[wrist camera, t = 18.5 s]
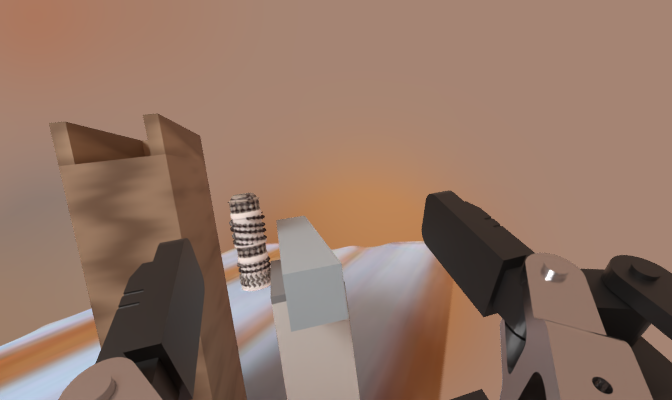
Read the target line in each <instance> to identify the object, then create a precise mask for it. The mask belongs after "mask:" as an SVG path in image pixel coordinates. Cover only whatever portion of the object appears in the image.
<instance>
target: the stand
mask: <svg viewBox="0 0 672 400" xmlns="http://www.w3.org/2000/svg"><path fill="white" fill-rule="evenodd" d="M143 118H144V123H145V128H146V133H147V137H148V140H146V141H140V140H137V139H133V138H129V137H124V136H120V135H116V134H112V133H108V132H104V131H100V130H96V129H92V128H88V127H84V126H80V125H76V124H72V123H68V122H58V123H49V126H50V130H51V134H52V138H53V143H54V147H55V152H56V156H57V160H58V165H59V169H60V173H61V178H62V182H63V186H64V190H65V195H66V199H67V203H68V208H69V212H70V216H71V220H72V225H73V229H74V234H75V238H76V242H77V246H78V250H79V255H80V259H81V264H82V268H83V272H84V277H85V281H86V285H87V290H88V294H89V298H90V302H91V307H92V311H93V316H94V320H95V324H96V329H97V333H98V337H99V341H100V346H101V349H102V346H103V343H104V341H105V338H106V336H107V333H108V331H109V328H110V326H111V323H112V321H113V318H114V316H115V313H116V311H117V310H118V309H119V307H118V305H119V303H120V300H121V298H122V296H124V294H123V293H124V290H125V288H126V285H127V283H128V280H129V278H130V277H131V276H132V274H133V273H134V272H135V271H136V270H137V269H138V268H139V267H140V266H141V264H142V263H147V262H152V261H153V259H154V256H155V253H156V250H157V247H158V245H159V243H161V242H167V241H172V240H178V239H183V238H188V239H189V241H190V242H191V245H192V248H193V250H194V253H195V256H196V258H197V261H198V264H199V266H200V269H201V272H202V275H203V279H204V286H205V295H204V304H203V313H202V322H201V331H200V340H199V349H198V358H197V367H196V376H195V385H194V394H193V399H191V400H247V398H246V392H245V387H244V381H243V375H242V370H241V364H240V358H239V353H238V347H237V341H236V336H235V330H234V325H233V319H232V313H231V308H230V302H229V296H228V291H227V285H226V279H225V274H224V268H223V263H222V257H221V251H220V246H219V240H218V234H217V230H216V223H215V218H214V212H213V206H212V201H211V195H210V190H209V184H208V179H207V173H206V167H205V161H204V156H203V150H202V144H201V139H200V136H199V135H197V134H196V133H193V132H191V131H190V130H188V129H186V128H184V127H182V126H180V125H178V124H176V123H175V122H172V121H171V120H169V119H167V118H165V117H163V116H161V115H159V114H148V115H143Z"/></svg>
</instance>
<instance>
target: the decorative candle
mask: <svg viewBox="0 0 672 400" xmlns="http://www.w3.org/2000/svg"><path fill="white" fill-rule="evenodd" d="M228 203H229V204H230V210H231V213H230V215H231V219H232V220H231V221H230V222H229V224H230V225H231V226H232V227H231V231H232V232H234V234H233V235H232V237H233V239H235V240H234V241H233V242H234V244H235V247H237V252H238V262H239V263H238V267H240V268H239V272H241V274H240V279H241V285H242V290H244V291H256V290H261V289H264V288H266V287H268V286H270V285H271V268H270V265H271V264H270V262H268V261H269V260H270V258H269V256H268V252H267V250H266V245H265V242H266V241H267V240H266V238H267V237H266V236H265V235H263V232H265V231H266V229H265V228H262V227H263V226H264V225H265V223H262V222H261V219H263V218H264V217H265V216H264V215H261V213H262V212H261V209H260V207H259V201H258V197H256V195H255V194H253V193H246V194H239V195H234V196H232V198H231V200H230V202H228ZM260 215H261V216H260Z"/></svg>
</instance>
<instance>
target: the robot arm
mask: <svg viewBox="0 0 672 400" xmlns="http://www.w3.org/2000/svg"><path fill="white" fill-rule="evenodd" d="M422 236H423V239H424V242H425V244H426V245H427V247H428V248H429V249H430V251H431V252H432V253H433V254H434V256H435V257H436V258H437V259H438V261H439V262H440V263H441V264H442V266H443V267H444V268H445V269H446V271H447V272H448V273H449V274H450V276H451V277H452V278H453V279H454V281H455V282H456V283H457V284H458V286H459V287H460V288H461V289H462V290H463V292H464V293H465V294H466V296H467V297H468V298H469V299H470V301H471V302H472V303H473V304H474V306H475V307H476V308H477V309H478V311H479V312H480V313H481V314H482V316H483V317H486V316H489V315H493V314H496V313H498V314H499V315H500V316H501V317H502V320H501V323H500V335H501V357H502V378H503V380H502V391H501V395H500V400H672V363H671V362H670V361H669V360H668V359H667V358H666V357H665V356H663V355H662V354H661V353H660V352H659V351H658V350H656V349H655V348H654V347H653V346H652V345H651V344H649V343H648V342H647V341H646V340H645V339H644V338H643V337H641V335H642V334H643V333H644V332H645V331H646V329H647V328H648V327H649V326H650V325H651V324H653V325H654V326H655V327H656V328H658V329H659V330H660V331H661V332H662V333H664V334H665V335H666V336H667V337H669V338H670V339H671V340H672V273H670V272H669V271H667V270H666V269H664V268H662V267H661V266H659V265H657V264H655V263H652V262H650V261H648V260H645V259H642V258H639V257H634V256H628V255H620V256H615V257H614V258H612V259H611V260H610V262H609V264H608V265H607V267H606V269H605V270H598V269H579V268H578V267H577V266H576V265H575V264H573V263H571V262H570V261H568V260H566V259H564V258H562V257H560V256H557V255H553V254H548V253H534V252H533V251H532V250H531V249H529V248H528V247H527V246H526V245H525V244H523V243H522V242H521V241H520V240H519V239H517V238H516V237H515V236H514V235H512V234H511V233H510V232H509V231H508V230H506V229H505V228H504V227H503V226H500V224H499V223H498V222H497V221H495V220H494V219H491V216H489V215H488V214H487V213H486V212H484V211H483V210H482V209H481V208H479V207H477V206H475V205H473V204H470V203H468V202H466V201H465V202H464V201H463V200H462V199H461V198H459V197H458V196H457V195H456V194H455V193H453V192H452V191H443V192H438V193H433V194H429V195H428V196H427V198H426V203H425V210H424V218H423V224H422ZM123 294H124V296H122V298H121V300H120V303H119V305H118V307H119V309H118V310H117V311H116V313H115V316H114V318H113V321H112V323H111V326H110V328H109V331H108V333H107V336H106V338H105V341H104V343H103V346H102V349H101V351H100V354H99V356H98V359H97V361H96V363H95V364H94V365H93V366H91V367H89V368H88V369H86V370H85V371H83V372H82V373H81V374H79V375H78V376H77V377H76V378H75V379H74V380H73V381H72V382H71V383H70V384H69V385H68V386H67V387H66V389H65V390H64V391H63V393H62V394H61V396H60V398H59V399H58V400H191V399H193V394H194V385H195V376H196V367H197V358H198V349H199V340H200V331H201V322H202V313H203V304H204V295H205V286H204V279H203V275H202V272H201V269H200V266H199V264H198V261H197V258H196V256H195V253H194V250H193V248H192V245H191V242H190V241H189V239H188V238H183V239H178V240H172V241H167V242H161V243H159V245H158V247H157V250H156V253H155V256H154V259H153V261H152V262H147V263H142V264H141V266H140V267H139V268H138V269H137V270H136V271H135V272H134V273H133V274H132V276H131V277H130V278H129V280H128V283H127V285H126V288H125V290H124V293H123ZM451 400H488V398H487V396H486V395H485V393H484V392H483V390H482V389H481V390H478V391H475V392H472V393H469V394H466V395H463V396H460V397H457V398H454V399H451Z"/></svg>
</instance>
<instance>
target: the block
mask: <svg viewBox="0 0 672 400" xmlns="http://www.w3.org/2000/svg"><path fill="white" fill-rule="evenodd" d="M344 287H345V282H344ZM345 295H346V290H345ZM271 302H272V308H273V314H274V321H275V327H276V333H277V339H278V345H279V352H280V358H281V364H282V370H283V377H284V383H285V389H286V395H287V400H360V396H359V389H358V381H357V374H356V366H355V358H354V351H353V343H352V336H351V328H350V320H349V319H345V320H341V321H336V322H332V323H328V324H323V325H319V326H315V327H310V328H306V329H302V330H297V331H293V332H291V327H290V321H289V314H288V308H287V302H286V295H285V289H284V282H283V276H282V267H281V260H276V261H271ZM346 302H347V298H346ZM347 310H348V305H347ZM348 317H349V313H348Z"/></svg>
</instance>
